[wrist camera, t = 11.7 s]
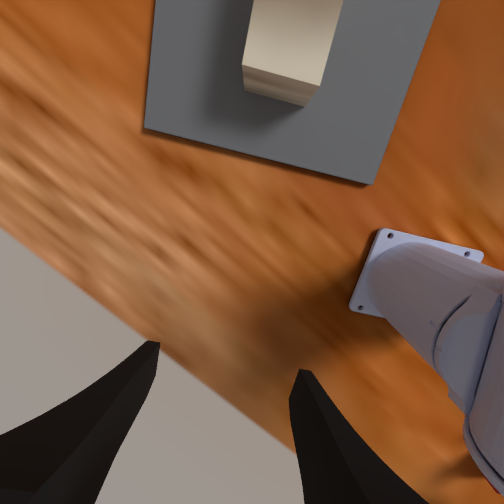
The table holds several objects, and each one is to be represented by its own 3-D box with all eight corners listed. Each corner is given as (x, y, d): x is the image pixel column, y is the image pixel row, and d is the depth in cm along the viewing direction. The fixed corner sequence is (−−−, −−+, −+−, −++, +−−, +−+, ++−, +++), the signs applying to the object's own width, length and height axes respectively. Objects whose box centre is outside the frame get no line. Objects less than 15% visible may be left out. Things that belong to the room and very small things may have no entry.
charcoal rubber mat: (463, -76, 15) (472, -86, 14) (368, 184, 19) (372, 185, 19) (176, -171, 14) (173, -186, 13) (147, 129, 18) (144, 127, 18)
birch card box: (305, 106, 17) (319, 85, 13) (244, 90, 17) (241, 64, 13) (342, -34, 15) (372, -107, 11) (273, -56, 15) (280, -139, 11)
